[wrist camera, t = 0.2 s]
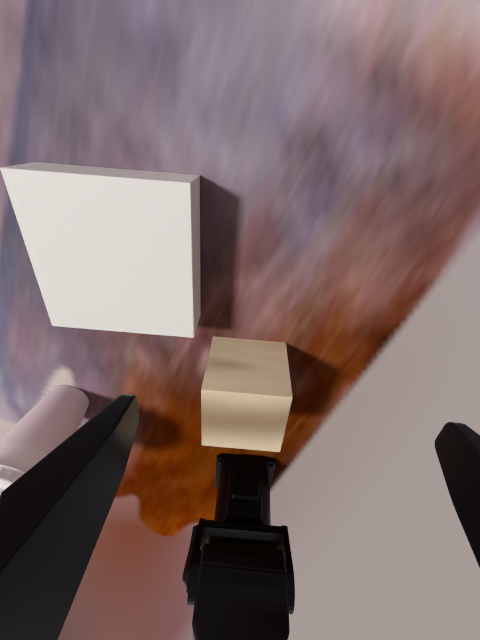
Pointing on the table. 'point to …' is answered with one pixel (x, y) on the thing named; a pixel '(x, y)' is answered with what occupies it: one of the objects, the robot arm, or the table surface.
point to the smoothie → (41, 431)
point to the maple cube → (246, 394)
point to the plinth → (112, 245)
